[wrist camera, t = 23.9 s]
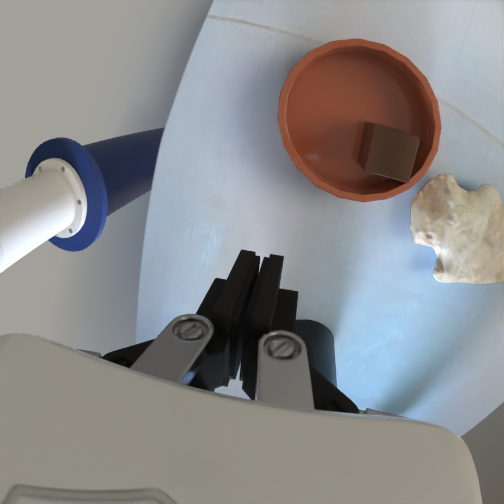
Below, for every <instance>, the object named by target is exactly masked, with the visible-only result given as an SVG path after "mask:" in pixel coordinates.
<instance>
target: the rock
mask: <svg viewBox="0 0 504 504" xmlns="http://www.w3.org/2000/svg"><path fill="white" fill-rule="evenodd" d="M410 226H411V230H412V233H413V242H415V243H417V244H420V245H429V246H431V247H432V248H433V249H434V250H435V253H436V255H437V261H436V266H435V268H434V270H433V275H434V277H435V279H436V280H438V281H440V282H448V283H453V282H466V283H471V284H478V283H482V284H491V283H494V282H496V283H500V282H504V204H503V203H502V201H501V197H500V194H499V192H498V191H497V189H496V188H495V187H493V186H492V185H489V184H482V185H481V186H480V187H479V188H478V189H476V190H474V191H471V192H467V191H466V190H464V189H462V188H460V187H459V186H458V184H457V183H456V181H455V178H454V177H453V175H452V174H445V175H438V176H436V177H435V178H433V179H431V180H429V181H428V182H427V183H426V185H425V186H424V187H423V188H422V189H421V190H420V191H419V192H418V193H417V195H416V197H415V198H414V200H413V201H412V203H411V225H410Z"/></svg>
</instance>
